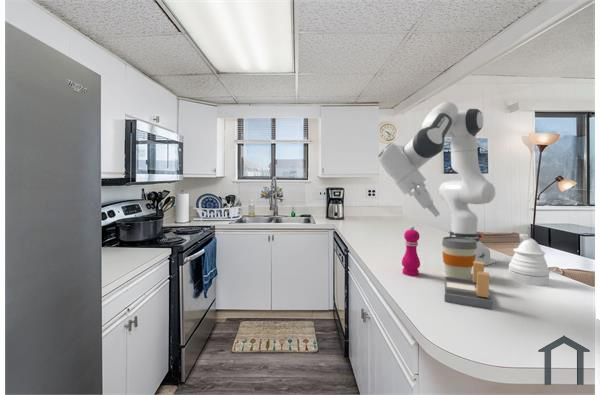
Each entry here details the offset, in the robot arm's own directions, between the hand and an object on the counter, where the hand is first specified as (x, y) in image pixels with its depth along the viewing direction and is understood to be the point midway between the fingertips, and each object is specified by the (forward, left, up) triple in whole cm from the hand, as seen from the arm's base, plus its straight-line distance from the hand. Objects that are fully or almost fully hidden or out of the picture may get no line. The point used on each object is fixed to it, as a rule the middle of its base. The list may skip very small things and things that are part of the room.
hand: (437, 215), depth 105 cm
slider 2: (-6, +13, -24) cm, 28 cm away
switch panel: (-8, +5, -27) cm, 29 cm away
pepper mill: (-6, -20, -27) cm, 34 cm away
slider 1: (-16, +3, -24) cm, 29 cm away
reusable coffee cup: (-23, -12, -27) cm, 37 cm away
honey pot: (-45, +1, -27) cm, 52 cm away
